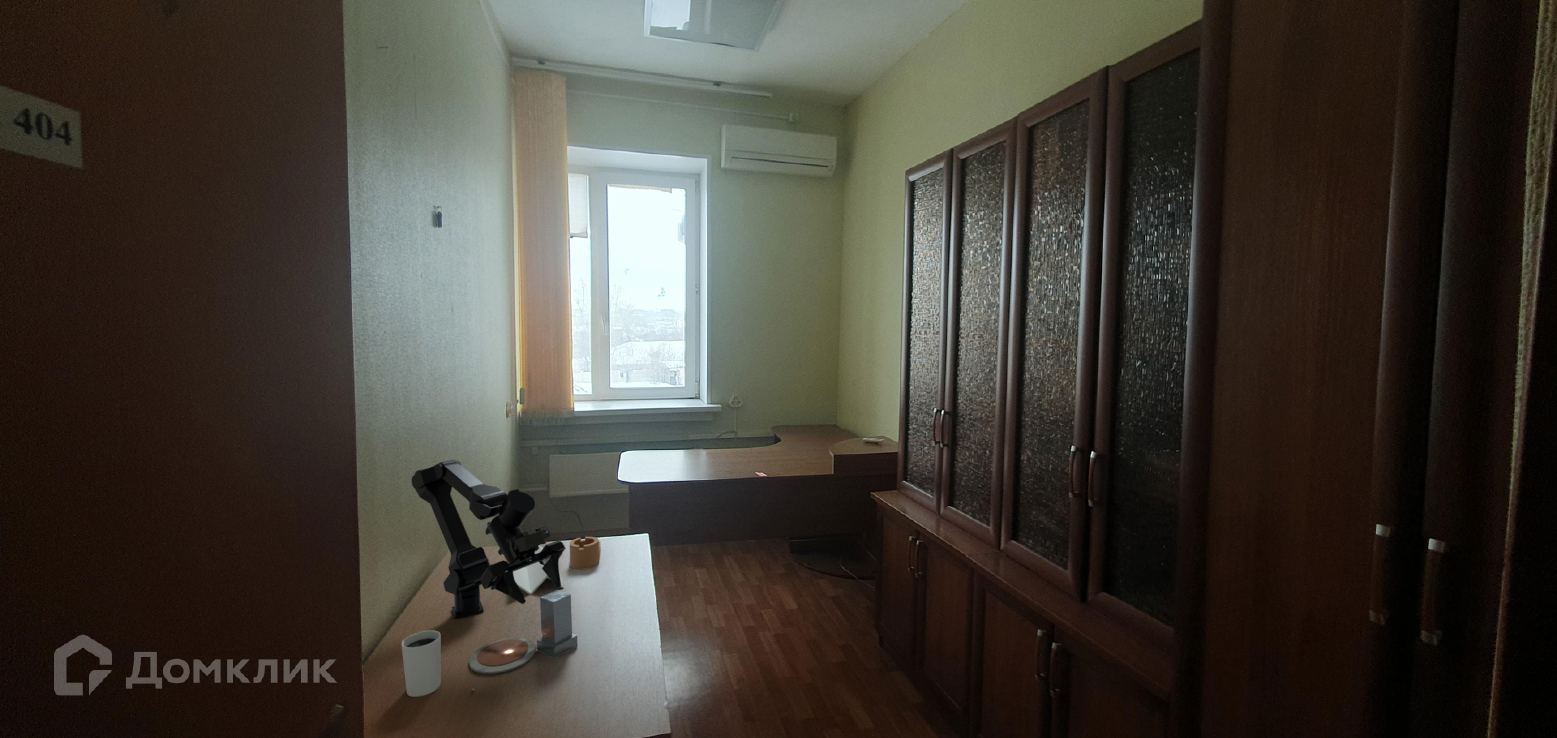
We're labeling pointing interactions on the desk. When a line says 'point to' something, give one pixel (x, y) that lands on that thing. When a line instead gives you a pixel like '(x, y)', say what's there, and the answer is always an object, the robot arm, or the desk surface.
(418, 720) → the desk surface
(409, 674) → the white cup
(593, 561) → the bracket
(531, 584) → the white zigzag folded sheet
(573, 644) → the grey stepped block
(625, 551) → the desk surface
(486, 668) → the copper centred dish
